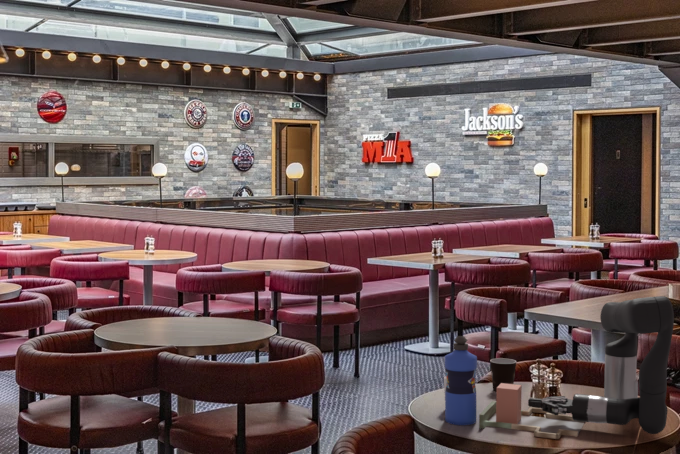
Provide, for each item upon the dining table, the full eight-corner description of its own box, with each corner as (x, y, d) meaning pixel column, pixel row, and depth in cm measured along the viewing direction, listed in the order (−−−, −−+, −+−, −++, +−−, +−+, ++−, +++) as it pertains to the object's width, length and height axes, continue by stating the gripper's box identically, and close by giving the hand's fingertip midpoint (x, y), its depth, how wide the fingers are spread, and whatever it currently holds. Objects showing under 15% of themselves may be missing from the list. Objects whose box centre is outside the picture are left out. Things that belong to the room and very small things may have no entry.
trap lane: (587, 420, 259) (587, 407, 259) (574, 444, 236) (574, 430, 236) (495, 410, 270) (495, 397, 269) (475, 432, 247) (475, 418, 247)
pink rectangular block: (521, 418, 257) (521, 385, 256) (516, 424, 252) (517, 389, 251) (500, 416, 259) (501, 383, 259) (496, 421, 254) (496, 387, 253)
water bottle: (442, 424, 255) (442, 338, 253) (447, 415, 264) (447, 332, 262) (474, 426, 253) (474, 340, 251) (478, 417, 262) (478, 334, 260)
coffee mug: (510, 395, 288) (510, 364, 288) (485, 391, 293) (486, 361, 292) (523, 387, 298) (523, 358, 297) (499, 384, 303) (499, 355, 302)
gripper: (594, 390, 252) (533, 384, 259) (587, 401, 240) (524, 394, 247) (593, 415, 253) (533, 409, 260) (587, 428, 241) (523, 420, 247)
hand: (528, 402), depth 253 cm, fingers closed
